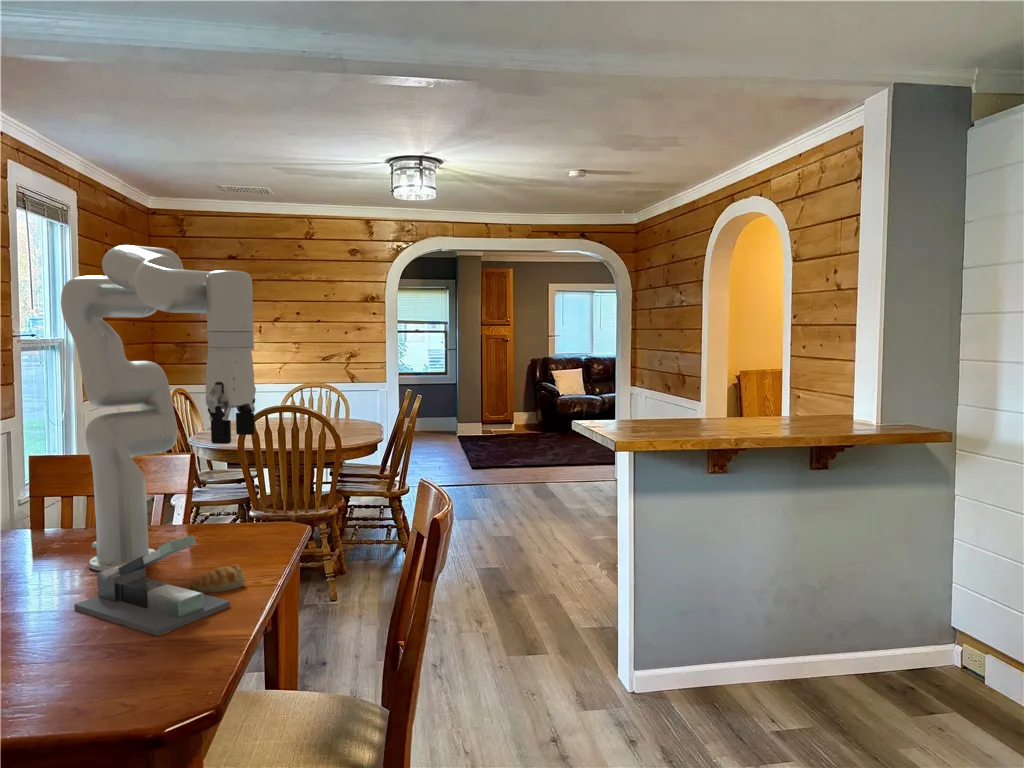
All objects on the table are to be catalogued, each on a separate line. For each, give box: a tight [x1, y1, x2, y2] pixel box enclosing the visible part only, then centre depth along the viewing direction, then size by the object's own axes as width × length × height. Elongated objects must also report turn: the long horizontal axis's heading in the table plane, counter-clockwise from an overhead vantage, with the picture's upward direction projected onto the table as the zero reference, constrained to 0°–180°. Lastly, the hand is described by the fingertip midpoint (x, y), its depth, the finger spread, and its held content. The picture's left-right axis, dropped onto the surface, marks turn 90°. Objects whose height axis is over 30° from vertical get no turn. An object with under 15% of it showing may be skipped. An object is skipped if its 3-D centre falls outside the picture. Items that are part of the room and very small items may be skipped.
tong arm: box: [119, 534, 197, 576], centre depth 126 cm, size 16×5×2 cm, turn 60°
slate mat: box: [73, 593, 231, 637], centre depth 127 cm, size 23×14×1 cm, turn 61°
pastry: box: [189, 564, 245, 594], centre depth 138 cm, size 9×7×4 cm
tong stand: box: [96, 563, 204, 619], centre depth 127 cm, size 22×6×5 cm, turn 61°
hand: (233, 438), depth 128 cm, fingers open, 9 cm apart
